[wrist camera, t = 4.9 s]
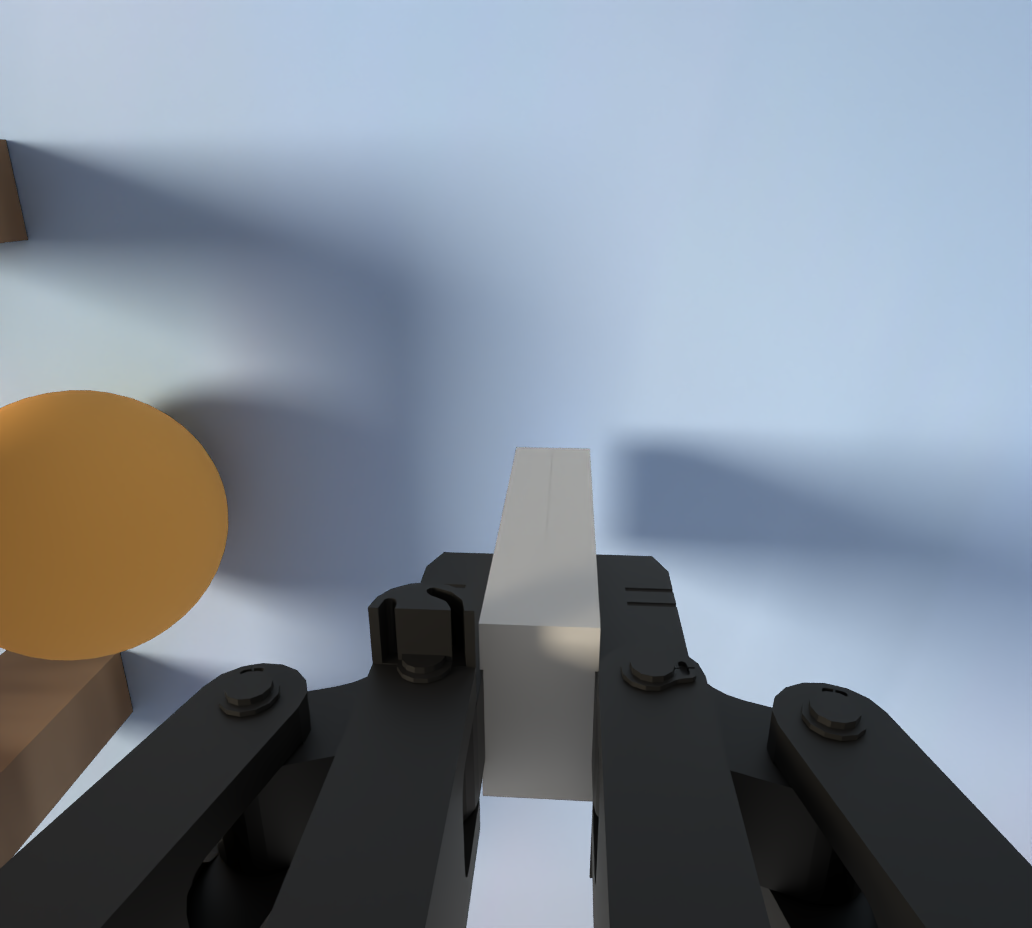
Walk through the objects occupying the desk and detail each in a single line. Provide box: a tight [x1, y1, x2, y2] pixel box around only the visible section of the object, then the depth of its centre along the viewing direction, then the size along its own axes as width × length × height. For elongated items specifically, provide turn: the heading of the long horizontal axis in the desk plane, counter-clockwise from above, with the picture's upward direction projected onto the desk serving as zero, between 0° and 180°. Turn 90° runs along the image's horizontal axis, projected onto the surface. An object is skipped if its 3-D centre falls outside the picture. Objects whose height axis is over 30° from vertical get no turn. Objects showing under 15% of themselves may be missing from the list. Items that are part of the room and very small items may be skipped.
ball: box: [0, 390, 228, 660], centre depth 16 cm, size 6×6×6 cm
